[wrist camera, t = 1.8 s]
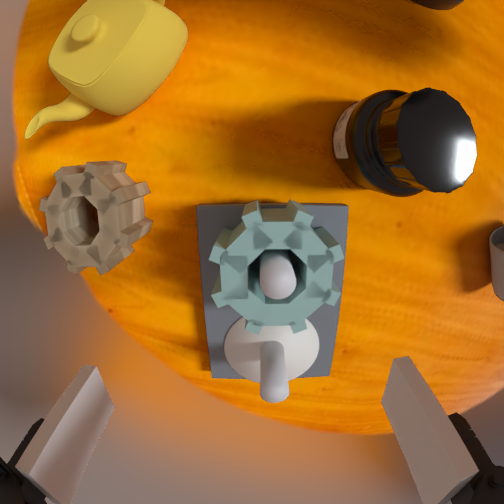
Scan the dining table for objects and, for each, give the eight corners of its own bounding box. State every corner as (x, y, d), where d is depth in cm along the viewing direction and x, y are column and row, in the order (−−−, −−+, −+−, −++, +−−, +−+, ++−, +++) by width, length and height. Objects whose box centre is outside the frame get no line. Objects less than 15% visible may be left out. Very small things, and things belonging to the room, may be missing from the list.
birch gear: (69, 168, 26) (35, 172, 21) (148, 156, 26) (122, 156, 20) (79, 255, 29) (50, 273, 24) (156, 254, 29) (134, 276, 23)
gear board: (199, 198, 27) (175, 214, 19) (344, 198, 27) (377, 213, 19) (214, 374, 34) (204, 424, 26) (326, 372, 33) (340, 421, 25)
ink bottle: (376, 84, 23) (440, 49, 12) (426, 152, 25) (503, 156, 14) (308, 140, 26) (345, 125, 14) (365, 209, 27) (427, 241, 16)
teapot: (121, 165, 26) (58, 171, 16) (57, 119, 25) (-8, 113, 14) (226, 24, 22) (211, -35, 12) (149, -9, 20) (112, -57, 10)
